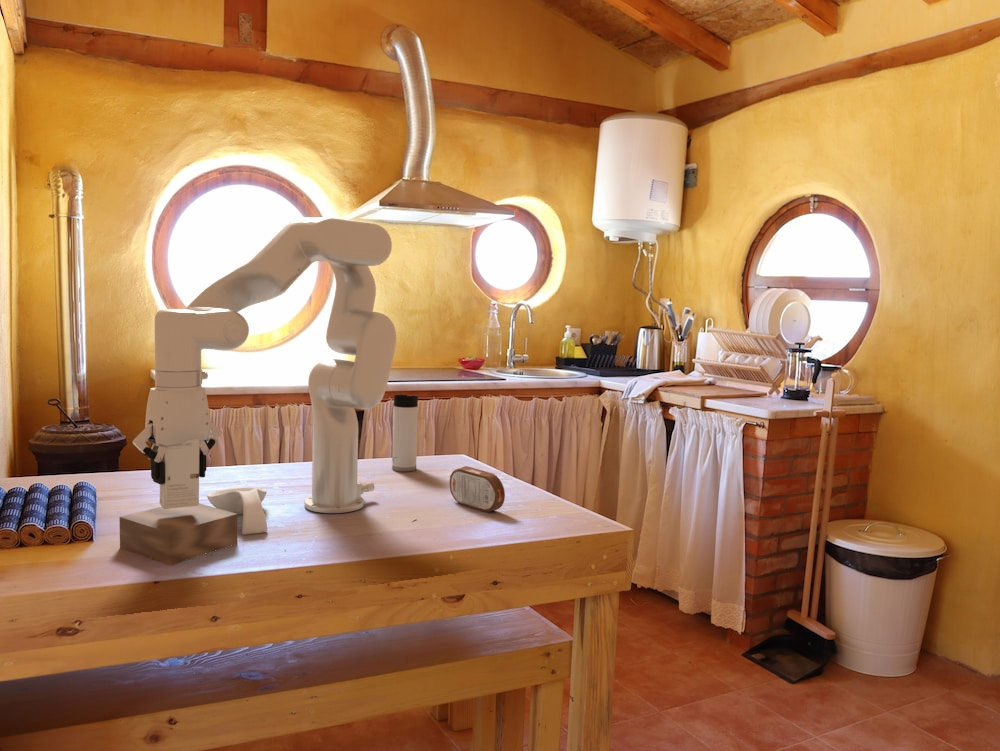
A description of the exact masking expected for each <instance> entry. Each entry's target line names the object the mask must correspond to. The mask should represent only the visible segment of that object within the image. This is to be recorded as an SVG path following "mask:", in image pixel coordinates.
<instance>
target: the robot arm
mask: <svg viewBox="0 0 1000 751" xmlns="http://www.w3.org/2000/svg"><path fill="white" fill-rule="evenodd" d="M392 248H393V243H392V238H391V236H390V234H389V232H388V231H387V230H386V229H385V228H384V227H383V226H381V225H379V224H376V223H370V222H365V221H364V222H363V221H356V220H347V219H341V218H334V217H301V218H297V219H293V220H291V221H290V222H289V223H288V224H286V225H285V226H284V227H283V228H282V229H281V230H280V231H279V232H278V233H277V234H276V235H275V236H274V237H273V238H272V239H271V240H270V241H269V242H268V243H267V244H266V245H265V246H264V247H263V248H262V249H261V250H260V251H259V252H258V253H257V254H256V255H255V256H254V257H253V258H252V259H250V260H249V261H248V262H246V264H243V265H242V266H240V267H238V268H236V269H234V270H233V271H232V272H230V273H228V274H227V275H225V276H223V277H221V278H219V279H218V280H216V281H215V282H213V283H212V284H211V285H208V286H207V287H206V289H204V290H203V291H202V292H201V293H199V295H198V296H197V297H196V298H194V299H193V300H192V301H191V303H189V305H188V306H187V307H186V308H185V309H182V308H181V309H180V308H179V309H177V308H169V309H168V308H167V309H161V310H158V311H157V312H156V313H155V315H154V374H155V375H154V386H155V387H151V388H150V390H149V393H148V399H147V404H146V410H145V423H144V426H145V427H144V429H143V430H142V431H141V432H140V433H139V434H137V436H136V437H135V438H134V439H133V440H132V444H133V446H135V448H137V449H138V450H139V452H141V453H142V455H144V456H145V457H146V458H147V459H148V460H150V476H151V479H152V481H153V483H156V484H158V485H159V486H160V485H162V484H164V483H165V462H163V461H162V458H163V456H164V454H165V451H166V449H167V447H168V446H174V445H178V444H182V443H185V442H186V441H187V440H192V439H199V441H200V445H199V478H205V477H206V471H207V455H209V454H210V451H211V449H212V448H213V447H214V446H215V444H216V441H218V439H219V438H220V437H221V435H222V433H223V431H222V429H220V427H218V426H216V425H215V424H214V423H213V422H212V421H211V420H210V419H211V418H210V408H209V402H208V397H207V396H208V395H207V392H206V388H205V386H203V380H207V379H208V378H209V374H208V372H207V371H203V369H202V350H216V351H223V352H224V351H225V352H227V351H232V350H236V349H238V348H239V347H241V346H242V345H243V344H244V343H245V342H246V341H247V339H248V337H249V335H250V333H249V332H250V329H249V323H248V322H247V320H246V318H245V317H244V316H243V315H242V314H241V313H239V312H240V311H242V310H244V309H246V308H248V307H250V306H253V305H257V304H260V303H263V302H267V301H269V300H272V299H275V298H277V297H279V296H281V295H283V294H284V293H286V291H287V290H288V289H289V288H290V287H291V286H292V285H293V284H294V283H295V282H296V281H297V280H298V279H299V277H300V276H302V274H303V273H305V271H306V270H307V269H308V268H309V267H310V266H311V265H312V264H313V263H315V262H328V265H329V266H330V268H331V270H332V272H333V275H334V278H335V292H334V296H333V297H334V298H333V302H332V306H331V311H330V315H329V320H328V323H327V329H326V334H325V335H326V338H325V339H326V344H327V346H328V347H329V348H330V349H331V350H332V351H334V352H336V353H338V354H343V355H349V356H355V358H354V361H352V360H343V359H339V358H338V359H335V358H334V359H333V358H332V359H331V358H330V359H325V360H322V361H320V362H318V363H316V364H315V365H314V367H313V368H312V369H311V371H310V373H309V376H308V392H309V398H310V403H311V411H312V451H311V452H312V456H311V457H312V459H311V460H312V462H311V463H312V464H311V465H312V470H311V471H312V472H311V474H312V476H311V496H309V497H307V498H305V500H304V503H303V504H304V508H305V509H307V510H308V511H311V512H315V513H320V514H321V513H322V514H342V513H343V514H344V513H350V512H355V511H358V510H361V509H362V508H363V507H364V506H365V498H363V497H362V495H363V494H364V493H369V492H373V491H374V490H375V485H374V483H373V482H372V481H371V482H367V483H366V482H365V483H363V484H362V482H358V471H359V470H358V464H359V463H358V461H359V460H358V459H359V421H358V417H357V412H356V410H355V409H358V410H371V409H374V408H375V407H377V406H378V405H379V404H380V403H381V402H382V400H383V398H384V396H385V393H386V390H387V387H388V383H389V378H390V374H391V370H392V366H393V365H392V364H393V361H394V360H393V359H394V356H395V352H396V346H397V331H396V327H395V324H394V322H393V320H391V319H390V317H389V316H387V315H386V314H384V313H382V312H376V311H374V307H375V302H376V301H375V300H376V295H377V294H376V293H377V285H376V281H375V278H374V275H373V273H372V270H371V269H370V267H375V266H379V265H380V266H381V264H383V263H384V262H386V261H387V259H388V258H389V257H390V255H391V252H392ZM146 442H148V443H150V444H152V446H151V447H149V445H148V444H147V443H146Z"/></svg>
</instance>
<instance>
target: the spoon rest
mask: <svg viewBox="0 0 1000 751" xmlns="http://www.w3.org/2000/svg"><path fill="white" fill-rule="evenodd" d="M266 495H267V490H266V489H265V488H259V487H235V488H225V489H220V490H216V491H215V490H214V491H211V492H209V493H208V494H207V495H206V498H207V500H208V502H209V503H210V504H211V506H212V507H214V508H218V509H222V510H225V511H229V512H233V513H236V514H237V515H242V526H241V534H242V535H245V536H247V535H253V534H254V535H255V534H263V533H267V532H268V524H267V518H266V515H265V511H264V508H263V504H262V503H263V501H264V500H265V498H266V497H267V496H266Z"/></svg>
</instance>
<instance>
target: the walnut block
mask: <svg viewBox="0 0 1000 751" xmlns="http://www.w3.org/2000/svg"><path fill="white" fill-rule="evenodd" d="M234 544H236V545H238V514H236V513H233V512H229V511H225V510H222V509H218V508H216V507H214V506H212V505H211V506H210V505H207V504H202V503H200V502H199V505H197V506H190V507H180V508H170V509H164V508H163V507H162V506H159V507H155V508H154V507H153V508H150V509H146V510H142V511H139V512H134V513H129V514H126V515H122V516H119V549H121V550H125V551H126V552H129V553H132V552H133V554H135V553H136V555H138V554H139V556H141V555H142V557H144V558H147V559H150V560H152V561H155V560H156V561H155V562H158V561H159V563H161V562H162V564H164V563H165V564H164V565H168V566H172V565H173V566H174V565H175V564H179V563H182V562H186V561H188V560H192V559H194V558H193V557H195V558H198V557H201V556H204V555H206V554H205V553H208V554H210V553H209V552H211V553H213V551H214V552H216V551H215V550H217V551H220V550H223V549H225V547H226V548H229V547H228V546H230V547H232V546H231V545H233V546H235V545H234ZM222 548H223V549H222ZM219 549H220V550H219ZM203 554H204V555H203ZM200 555H201V556H200ZM197 556H198V557H197ZM191 558H192V559H191ZM185 560H186V561H185Z"/></svg>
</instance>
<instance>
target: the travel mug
mask: <svg viewBox="0 0 1000 751" xmlns="http://www.w3.org/2000/svg"><path fill="white" fill-rule="evenodd" d="M418 399H419V396H418V395H407V394H394V395H393V413H392V414H393V416H392V417H393V418H392V421H393V422H392V452H391V453H392V454H391V455H392V456H391V457H392V458H391V459H392V460H391V469H392V470H393V471H394V472H402V473H405V472H406V473H409V472H414V471H415V470H416V469H417V456H418V454H417V453H418V452H417V449H418V417H419V416H418V414H419V413H418V412H419V409H418V408H419V406H418V402H419V400H418Z"/></svg>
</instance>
